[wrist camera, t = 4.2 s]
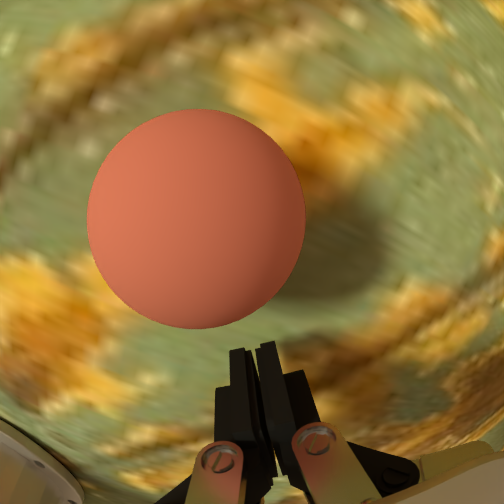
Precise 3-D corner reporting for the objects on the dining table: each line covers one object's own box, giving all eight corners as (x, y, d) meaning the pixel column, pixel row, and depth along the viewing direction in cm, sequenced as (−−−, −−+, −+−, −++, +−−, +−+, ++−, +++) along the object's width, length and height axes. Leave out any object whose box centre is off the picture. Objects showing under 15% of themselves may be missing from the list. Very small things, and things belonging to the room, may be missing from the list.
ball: (285, 273, 12) (329, 364, 6) (136, 282, 11) (82, 375, 6) (280, 118, 10) (335, 84, 5) (119, 131, 10) (31, 118, 4)
